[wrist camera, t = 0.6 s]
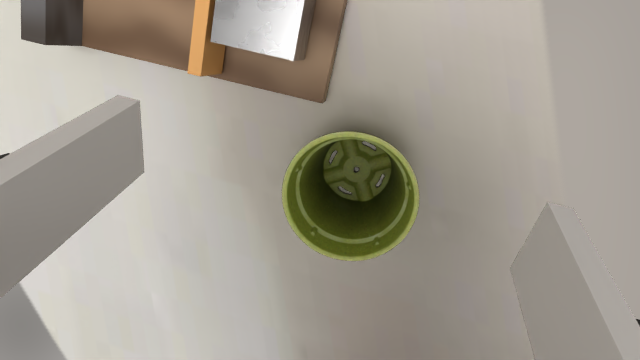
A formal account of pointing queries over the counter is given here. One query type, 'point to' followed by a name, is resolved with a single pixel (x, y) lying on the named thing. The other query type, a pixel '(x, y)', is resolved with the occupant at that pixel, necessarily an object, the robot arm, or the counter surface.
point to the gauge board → (184, 39)
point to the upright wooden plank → (204, 42)
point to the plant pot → (350, 196)
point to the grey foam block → (264, 26)
